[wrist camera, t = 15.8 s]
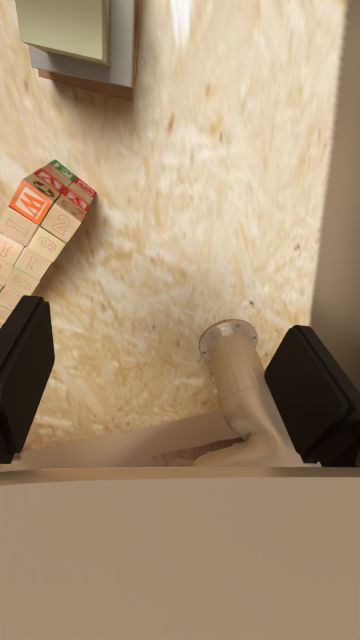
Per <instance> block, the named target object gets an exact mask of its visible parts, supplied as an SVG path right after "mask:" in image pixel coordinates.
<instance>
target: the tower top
mask: <svg viewBox="0 0 360 640" xmlns="http://www.w3.org/2000/svg"><path fill="white" fill-rule="evenodd" d="M134 22H135V0H111V67H107V66H103V65H98V64H94V63H90V62H85V61H81V60H76V59H72V58H68V57H63V56H59V55H54V54H50V53H46V52H44V51H42V50H40V49H37V48H35V47H33V46H31V45H29V50H30V57H31V64H32V67H33V68H37V69H41V70H45V71H49V72H54V73H59V74H64V75H69V76H74V77H79V78H84V79H89V80H94V81H99V82H104V83H109V84H114V85H120V86H125V87H130V88H132V87H133V54H134Z"/></svg>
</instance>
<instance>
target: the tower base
mask: <svg viewBox="0 0 360 640" xmlns="http://www.w3.org/2000/svg"><path fill="white" fill-rule="evenodd" d="M141 7H142V0H135V22H134V54H133V87H132V88H130V87H125V86H120V85H114V84H109V83H104V82H99V81H94V80H89V79H84V78H79V77H74V76H69V75H64V74H59V73H54V72H49V71H45V70H41V69H38V72H39V77H43V78H47V79H50V80H54V81H58V82H62V83H66V84H69V85H73V86H77V87H81V88H85V89H88V90H92V91H96V92H100V93H104V94H107V95H111V96H115V97H119V98H123V99H126V100H130V101H134V93H135V81H136V68H137V56H138V44H139V32H140V20H141Z"/></svg>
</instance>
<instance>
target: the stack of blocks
mask: <svg viewBox="0 0 360 640" xmlns="http://www.w3.org/2000/svg"><path fill="white" fill-rule="evenodd" d="M95 195H96V192H95V191H94V190H93V189H92V188H90V187H89V186H88V185H87V184H85V183H84V182H83V181H82V180H80V179H79V178H78V177H76V176H75V175H74V174H73V173H71V172H70V171H69V170H68V169H66V168H65V167H64V166H63V165H61V164H60V163H59V162H58V161H57V160H53V161H51V162H50V163H48V165H46V166H44V167H43V168H40V169H38V170H37V171H35V172H34V173H33V174H31V175H29V176H27V177H26V178H24V179H22V180H21V182H20V184H19V186H18V188H17V190H16V192H15V194H14V196H13V198H12V200H11V202H10V204H9V206H8V207H7V208H6V210H5V212H4V214H3V216H2V218H1V220H0V323H2V324H4V323H5V321H6V320H7V318H8V317H9V315H10V314H11V312H12V311H13V309H14V308H15V306H16V305H17V303H18V302H19V301H20V299H21V298H22V296H23V295H29V296H31V295H32V293H33V291H34V290H35V288H36V287H37V285H38V284H39V282H40V281H41V279H42V277H43V275H44V274H45V272H46V270H47V269H48V267H49V266H50V264H51V263H52V262H54V261H55V260H56V258H57V257H58V255H59V254H60V252H61V251H62V249H63V248H64V247H65V245H66V243H67V242H68V241H69V240H70V238H71V237H72V236H73V234H74V233H75V231H76V230H77V229H78V227H79V226H80V224H81V223H82V221H83V219H84V217H85V214H86V213H87V211H88V209H89V207H90V204H91V202H92V201H93V200H94V198H95Z"/></svg>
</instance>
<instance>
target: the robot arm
mask: <svg viewBox="0 0 360 640" xmlns="http://www.w3.org/2000/svg"><path fill="white" fill-rule="evenodd" d="M257 343H258V335H257V333H256V331H255V329H254V327H253V326H252V325H251V324H249V323H247V322H245V321H241V320H227V321H223V322H219V323H217V324H215V325H213V326H212V327H210V328H209V329H208V330H207V331H206V332H205V333H204V334H203V335H202V337H201V339H200V343H199V348H200V352H201V354H202V356H203V357H204V358H205V359H206V360H207V361H209V362H210V363H211V367H212V372H211V375H210V377H209V379H210V381H212V382H215V383H216V387H217V390H218V394H219V398H220V402H221V406H222V410H223V414H224V417H225V420H226V422H227V424H228V425H229V427H230V428H231V429H232V430H233V431H234V432H235V433H237V434H238V435H239V436H240V437H242V438H243V439H245V440H246V441H245V442H243V443H240V444H238V445H235V446H232V447H228V448H225V449H221V450H218V451H215V452H211V453H208V454H205V455H202V456H200V457H199V458H197V459H196V460H195V461H194V462H193V464H192V467H132V468H129V467H128V468H68V469H67V468H66V469H35V470H20V471H6V472H0V640H360V393H359V391H358V390H357V389H356V387H355V386H354V385H353V383H352V382H351V380H350V379H349V378H348V376H347V375H346V374H345V373H344V371H343V370H342V368H341V367H340V366H339V365H338V363H337V362H336V360H335V359H334V358H333V356H332V355H331V354H330V353H329V351H328V350H327V348H326V347H325V346H324V344H323V343H322V342H321V340H320V339H319V338H318V336H317V335H316V334H315V332H314V331H313V330H312V328H311V327H309V326H301V325H295V326H293V327H292V328H290V329H289V330H288V331H287V333H286V335H285V337H284V338H283V340H282V342H281V344H280V345H279V347H278V349H277V351H276V353H275V354H274V356H273V358H272V360H271V361H270V363H269V365H268V367H267V368H266V370H265V369H264V367H263V365H262V362H261V360H260V358H259V356H258V353H257V351H256V349H255V348H256V345H257ZM54 360H55V354H54V344H53V335H52V325H51V316H50V306H49V302H46V301H44V299H43V297H38V296H29V295H23V296H22V298H21V299H20V301H19V302H18V303H17V305H16V306H15V308H14V309H13V311H12V312H11V314H10V315H9V317H8V318H7V320H6V321H5V323H4V324H3V326H2V327H1V329H0V464H11V462H12V459H13V456H14V454H15V453H20V452H21V450H22V448H23V446H24V443H25V441H26V438H27V435H28V433H29V430H30V427H31V424H32V422H33V419H34V416H35V414H36V411H37V408H38V406H39V403H40V400H41V398H42V395H43V392H44V389H45V387H46V384H47V381H48V379H49V376H50V373H51V371H52V368H53V365H54ZM318 461H320V463H321V465H322V467H315V465H314V464H316V463H317V462H318Z"/></svg>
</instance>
